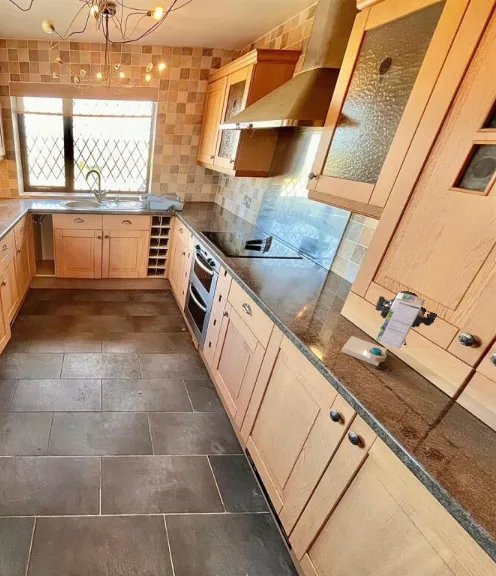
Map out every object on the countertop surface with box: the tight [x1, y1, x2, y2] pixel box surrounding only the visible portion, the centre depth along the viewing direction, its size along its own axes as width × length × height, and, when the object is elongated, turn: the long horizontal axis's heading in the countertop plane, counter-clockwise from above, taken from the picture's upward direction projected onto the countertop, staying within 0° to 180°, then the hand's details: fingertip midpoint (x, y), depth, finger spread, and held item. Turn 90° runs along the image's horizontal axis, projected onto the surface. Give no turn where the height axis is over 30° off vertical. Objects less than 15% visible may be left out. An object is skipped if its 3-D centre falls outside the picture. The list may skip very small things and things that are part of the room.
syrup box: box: [375, 293, 425, 349], centre depth 88 cm, size 6×6×14 cm
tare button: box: [371, 347, 382, 356], centre depth 98 cm, size 2×2×2 cm
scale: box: [340, 335, 388, 367], centre depth 103 cm, size 11×11×4 cm
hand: (399, 319), depth 86 cm, fingers closed on syrup box, 6 cm apart
